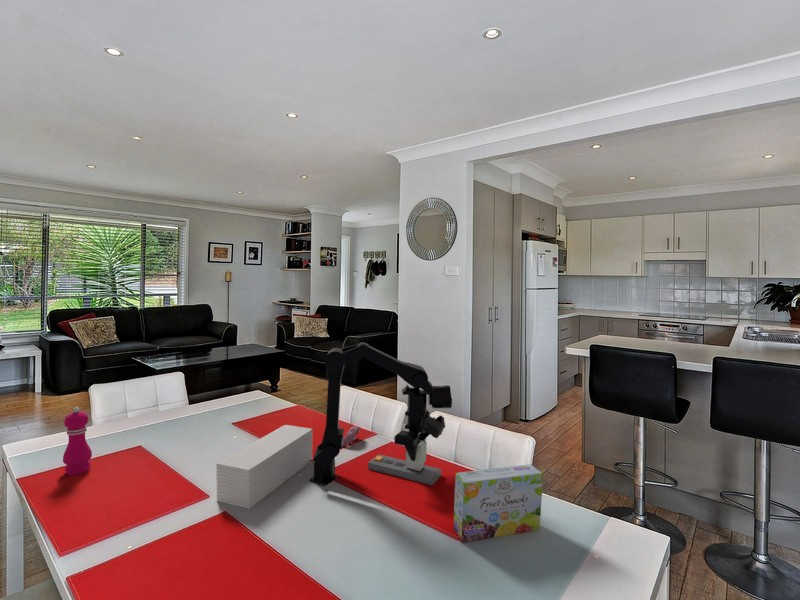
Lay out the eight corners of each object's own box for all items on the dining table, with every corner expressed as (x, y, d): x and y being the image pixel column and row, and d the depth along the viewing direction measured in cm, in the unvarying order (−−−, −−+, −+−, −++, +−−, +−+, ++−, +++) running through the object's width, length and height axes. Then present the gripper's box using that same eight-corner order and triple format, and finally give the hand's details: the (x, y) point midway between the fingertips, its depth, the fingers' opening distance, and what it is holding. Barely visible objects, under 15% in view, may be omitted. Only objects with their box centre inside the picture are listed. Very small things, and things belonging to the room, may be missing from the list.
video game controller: (347, 451, 154) (356, 435, 153) (337, 445, 154) (345, 429, 153) (355, 441, 163) (364, 426, 162) (345, 435, 164) (353, 419, 163)
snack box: (462, 545, 100) (464, 482, 99) (452, 531, 105) (454, 471, 104) (541, 531, 106) (543, 471, 105) (528, 518, 111) (530, 462, 110)
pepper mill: (58, 472, 131) (56, 408, 130) (84, 463, 138) (82, 402, 136) (70, 478, 128) (68, 412, 127) (97, 468, 134) (95, 406, 133)
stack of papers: (285, 455, 147) (285, 424, 146) (312, 460, 143) (312, 428, 143) (216, 501, 117) (216, 463, 116) (249, 509, 113) (248, 470, 113)
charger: (420, 472, 128) (421, 446, 128) (405, 468, 131) (406, 442, 130) (425, 466, 132) (426, 441, 132) (411, 463, 134) (411, 438, 134)
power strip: (432, 488, 125) (432, 476, 125) (367, 471, 135) (367, 460, 135) (440, 478, 132) (441, 467, 131) (378, 463, 141) (378, 452, 141)
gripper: (429, 421, 118) (428, 476, 119) (452, 403, 135) (451, 452, 136) (393, 415, 123) (393, 468, 124) (420, 398, 140) (419, 445, 141)
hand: (416, 458), depth 131 cm, fingers closed on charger, 4 cm apart
